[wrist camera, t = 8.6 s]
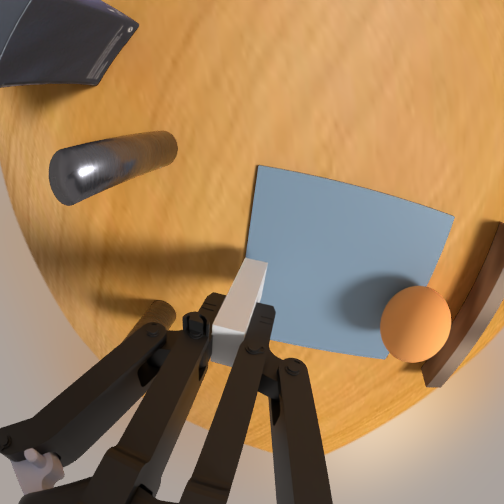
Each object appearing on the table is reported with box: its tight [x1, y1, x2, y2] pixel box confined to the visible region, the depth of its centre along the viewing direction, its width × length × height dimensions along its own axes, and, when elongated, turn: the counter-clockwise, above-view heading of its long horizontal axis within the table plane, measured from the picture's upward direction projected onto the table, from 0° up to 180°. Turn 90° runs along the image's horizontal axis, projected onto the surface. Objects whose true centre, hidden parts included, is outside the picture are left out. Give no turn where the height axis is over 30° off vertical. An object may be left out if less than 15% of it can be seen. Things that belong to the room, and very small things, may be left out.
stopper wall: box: [421, 222, 504, 387], centre depth 16 cm, size 16×2×2 cm, turn 172°
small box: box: [0, 0, 139, 88], centre depth 9 cm, size 11×6×10 cm, turn 46°
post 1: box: [49, 131, 178, 206], centre depth 13 cm, size 3×3×9 cm
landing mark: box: [246, 165, 455, 359], centre depth 19 cm, size 14×14×1 cm
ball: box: [380, 286, 451, 363], centre depth 16 cm, size 6×6×6 cm
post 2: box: [124, 300, 176, 341], centre depth 20 cm, size 3×3×9 cm
